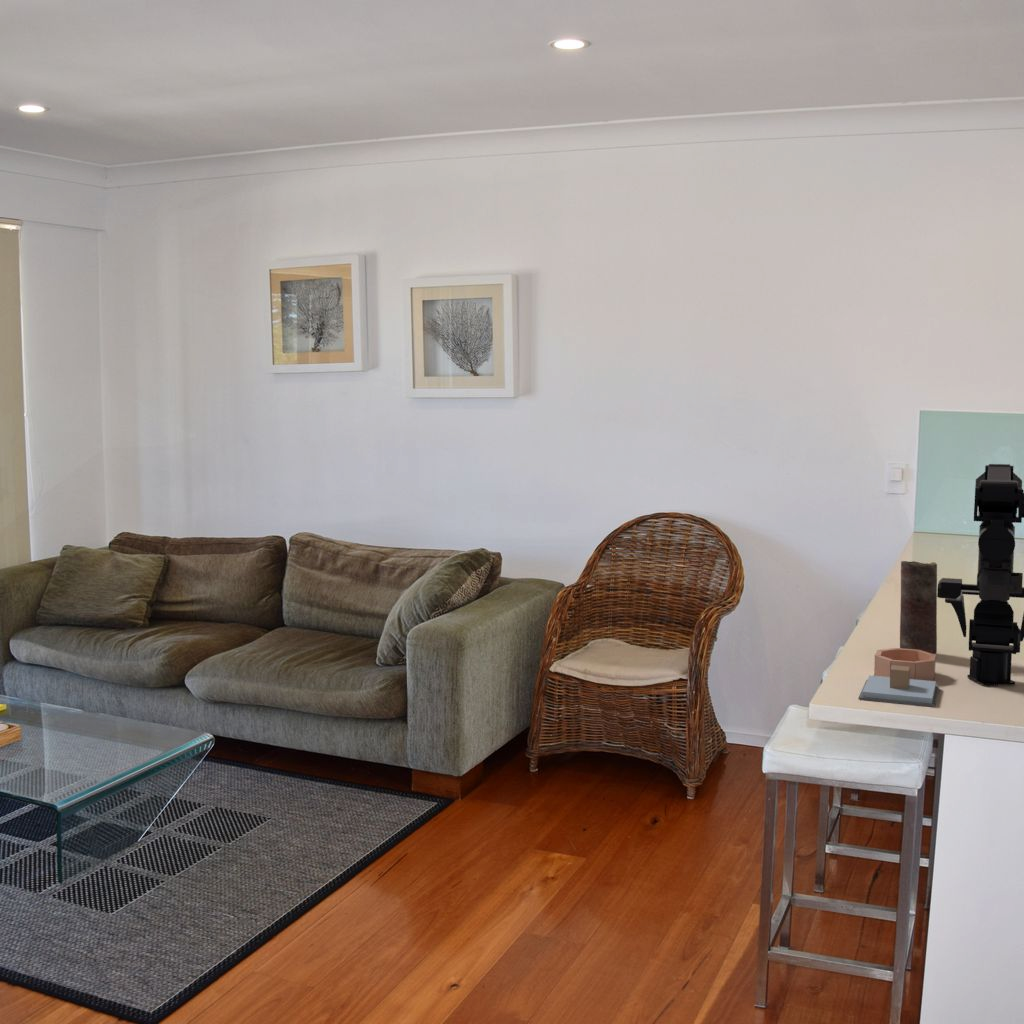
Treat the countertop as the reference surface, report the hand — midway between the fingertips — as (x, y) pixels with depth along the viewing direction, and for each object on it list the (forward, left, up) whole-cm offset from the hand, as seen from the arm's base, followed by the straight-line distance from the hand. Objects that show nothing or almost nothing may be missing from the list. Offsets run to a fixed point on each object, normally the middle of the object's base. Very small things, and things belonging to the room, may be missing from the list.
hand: (992, 638), depth 198 cm
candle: (-4, -36, -12) cm, 38 cm away
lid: (+13, -9, -12) cm, 19 cm away
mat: (+13, -9, -12) cm, 20 cm away
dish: (+6, -21, -12) cm, 25 cm away
